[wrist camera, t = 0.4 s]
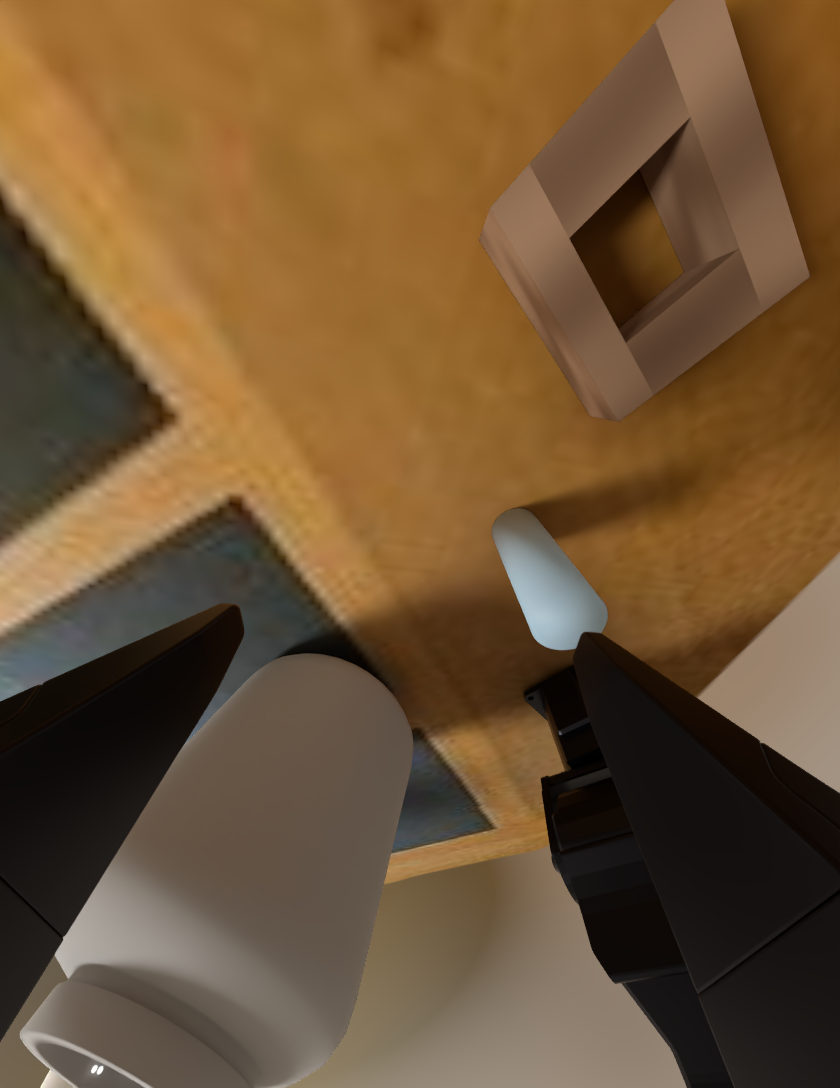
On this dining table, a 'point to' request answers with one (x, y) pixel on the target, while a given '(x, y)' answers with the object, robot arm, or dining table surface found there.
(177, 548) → the dining table surface
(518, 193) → the socket block
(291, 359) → the dining table surface
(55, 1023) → the jar
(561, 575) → the dowel
